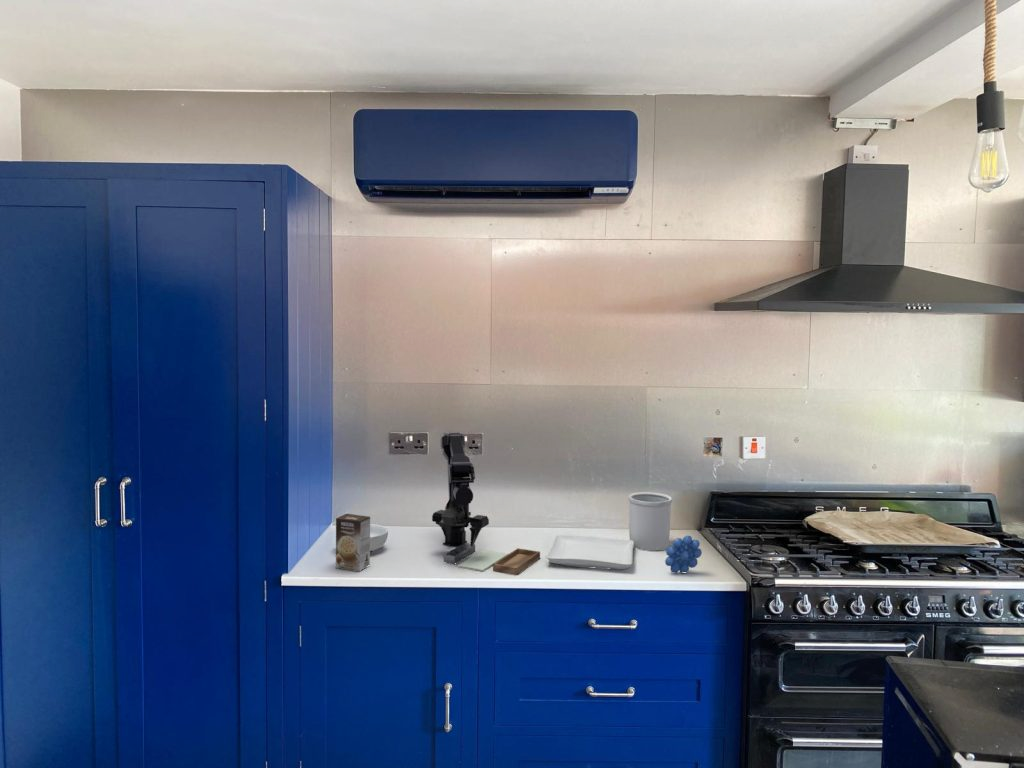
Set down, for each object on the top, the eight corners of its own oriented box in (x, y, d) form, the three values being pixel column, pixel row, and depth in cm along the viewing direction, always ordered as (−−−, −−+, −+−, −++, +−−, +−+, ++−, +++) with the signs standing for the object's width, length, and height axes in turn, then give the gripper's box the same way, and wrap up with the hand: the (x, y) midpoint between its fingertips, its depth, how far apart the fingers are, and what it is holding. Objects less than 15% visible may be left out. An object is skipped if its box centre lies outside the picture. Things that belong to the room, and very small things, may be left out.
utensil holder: (668, 553, 226) (669, 503, 225) (624, 549, 231) (625, 499, 230) (672, 541, 240) (673, 494, 239) (631, 537, 245) (632, 490, 244)
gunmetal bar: (443, 563, 214) (443, 554, 214) (464, 551, 227) (464, 542, 227) (454, 565, 213) (454, 556, 213) (475, 553, 225) (475, 544, 225)
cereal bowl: (341, 561, 215) (341, 539, 215) (333, 546, 230) (333, 526, 230) (393, 554, 222) (393, 533, 221) (381, 541, 237) (381, 521, 237)
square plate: (632, 575, 205) (632, 563, 205) (544, 568, 211) (544, 556, 211) (633, 549, 232) (634, 538, 232) (556, 543, 237) (556, 533, 237)
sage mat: (458, 567, 210) (458, 565, 210) (484, 551, 226) (484, 549, 226) (483, 571, 206) (483, 569, 206) (508, 555, 222) (508, 553, 222)
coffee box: (334, 568, 208) (334, 518, 207) (346, 562, 214) (345, 513, 213) (360, 572, 205) (360, 521, 204) (371, 565, 211) (371, 515, 210)
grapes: (695, 568, 212) (696, 531, 211) (704, 575, 205) (705, 537, 204) (660, 569, 210) (661, 531, 210) (667, 576, 204) (668, 538, 203)
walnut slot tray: (492, 571, 207) (493, 564, 207) (517, 554, 223) (517, 548, 223) (516, 575, 203) (516, 568, 203) (539, 558, 220) (540, 551, 220)
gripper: (422, 499, 216) (422, 546, 217) (473, 506, 208) (472, 555, 209) (441, 492, 226) (440, 538, 227) (489, 499, 218) (489, 545, 219)
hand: (460, 544), depth 220 cm, fingers open, 9 cm apart
